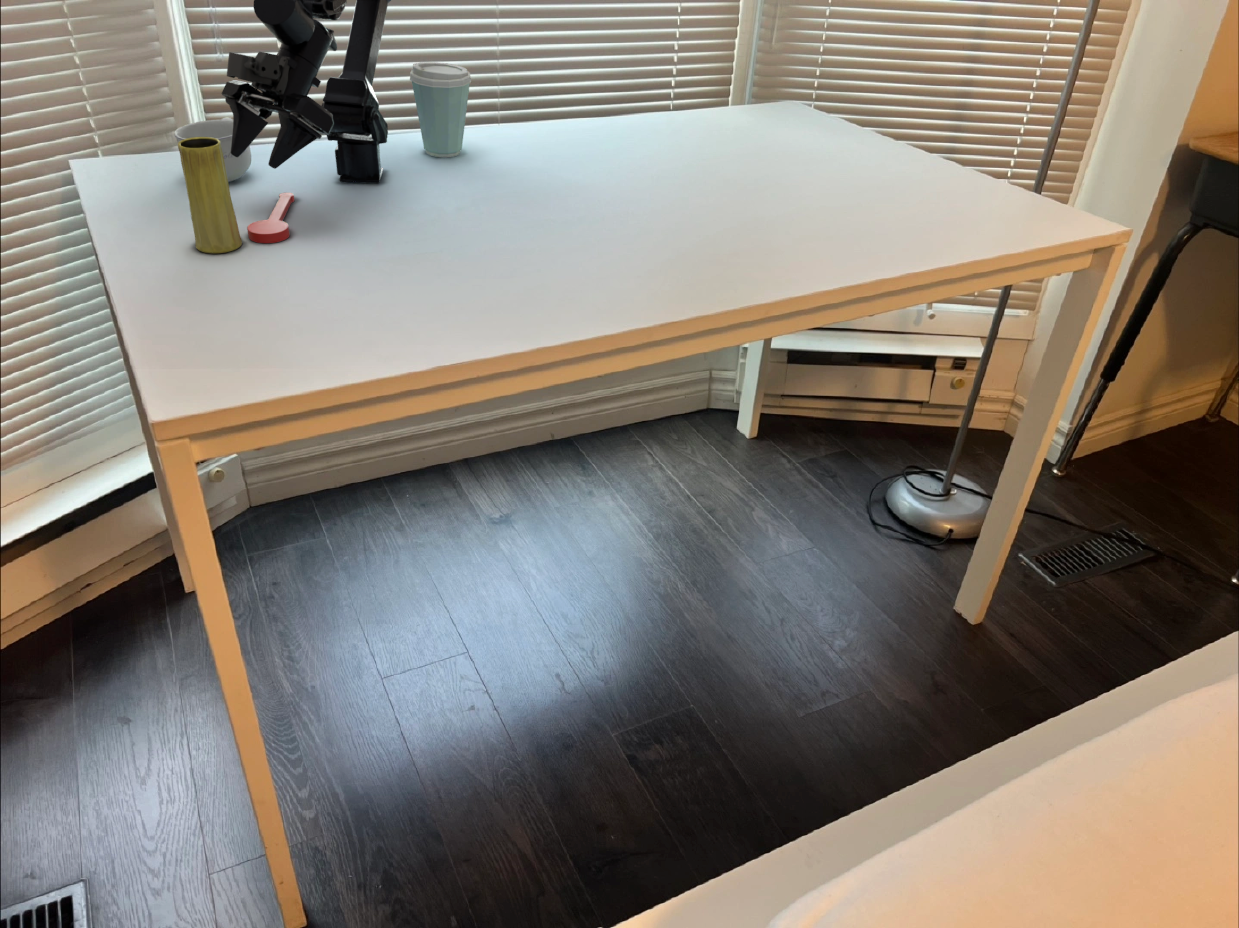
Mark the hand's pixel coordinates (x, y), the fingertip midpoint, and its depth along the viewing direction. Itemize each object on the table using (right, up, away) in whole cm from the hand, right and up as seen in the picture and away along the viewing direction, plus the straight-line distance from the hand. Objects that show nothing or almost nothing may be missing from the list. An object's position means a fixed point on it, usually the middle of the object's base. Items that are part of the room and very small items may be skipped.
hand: (252, 161), depth 134 cm
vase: (-4, -12, -1) cm, 13 cm away
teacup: (-13, +5, +23) cm, 27 cm away
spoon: (+1, -6, +8) cm, 10 cm away
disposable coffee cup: (+20, +13, +38) cm, 45 cm away
